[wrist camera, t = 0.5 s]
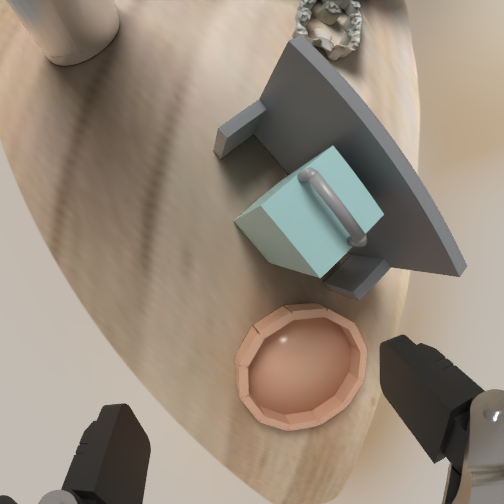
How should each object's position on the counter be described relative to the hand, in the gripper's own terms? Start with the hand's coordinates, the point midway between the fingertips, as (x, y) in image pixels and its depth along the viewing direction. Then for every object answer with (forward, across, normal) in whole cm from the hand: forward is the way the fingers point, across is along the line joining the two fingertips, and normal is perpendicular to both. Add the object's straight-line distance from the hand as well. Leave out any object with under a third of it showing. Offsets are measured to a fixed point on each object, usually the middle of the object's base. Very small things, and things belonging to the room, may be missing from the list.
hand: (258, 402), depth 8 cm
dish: (+18, -4, +12) cm, 22 cm away
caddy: (+20, -5, -2) cm, 21 cm away
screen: (+21, -7, -3) cm, 22 cm away
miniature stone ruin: (+26, -17, -23) cm, 38 cm away
